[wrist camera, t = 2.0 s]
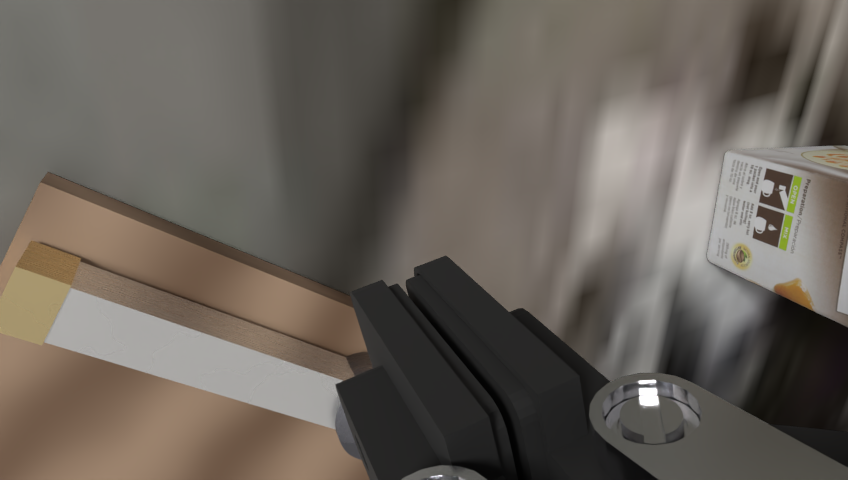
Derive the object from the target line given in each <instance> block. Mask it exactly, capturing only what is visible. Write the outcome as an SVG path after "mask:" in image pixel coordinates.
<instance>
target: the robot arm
mask: <svg viewBox="0 0 848 480" xmlns="http://www.w3.org/2000/svg"><path fill="white" fill-rule="evenodd" d="M414 276H415V277H413V278H410V279H408V280H406V288H407V292H408V295H409V297H408V295H407V294H406V293H405V292H404V291H403V289H402V288H401V287H400V286H399V285H398V284H395V285H392V286H389V287H388V286H387V285H386V284H385V283H384V281H383V280H381V281H378V282H375V283H373V284H370V285H368V286H365V287H362V288H360V289H357V290H354V291H352V292H350V296H351V300H352V304H353V307H354V310H355V313H356V316H357V320H358V323H359V326H360V329H361V332H362V335H363V339H364V342H365V345H366V348H367V351H368V354H369V358H370V361H371V364H372V367H373V369H371V370H369V371H366V372H364V373H361V374H359V375H356V376H354V377H352V378H349V379H347V380H344V381H342V382H340V383H337V384H335V386H336V390H337V393H338V396H339V399H340V402H341V405H342V407H343V410H344V413H345V416H346V419H347V422H348V425H349V427H350V430H351V433H352V436H353V438H354V441H355V444H356V446H357V449H358V451H359V454H360V457H361V459H362V462H363V464H364V467H365V469H366V472H367V474H368V476H369V479H370V480H848V432H843V431H833V430H824V429H814V428H804V427H794V426H784V425H775V424H767V423H765V422H764V421H762V420H760V419H758V418H756V417H754V416H753V415H751V414H749V413H747V412H745V411H743V410H742V409H740V408H738V407H736V406H734V405H732V404H731V403H729V402H727V401H725V400H723V399H721V398H720V397H718V396H716V395H714V394H712V393H710V392H709V391H707V390H705V389H703V388H701V387H699V386H698V385H696V384H694V383H692V382H689V381H687V380H684V379H682V378H680V377H677V376H673V375H667V374H661V373H638V374H633V375H628V376H623V377H621V378H618V379H616V380H614V381H612V382H610V381H609V380H608V379H606V378H605V377H604V376H603V375H602V374H600V373H599V372H598V371H597V370H596V369H595V368H593V367H592V366H591V365H590V364H589V363H588V362H586V361H585V360H584V359H583V358H582V357H581V356H579V355H578V354H577V353H576V352H575V351H574V350H572V349H571V348H570V347H569V346H568V345H567V344H565V343H564V342H563V341H562V340H561V339H560V338H558V337H557V336H556V335H555V334H554V333H553V332H551V331H550V330H549V329H548V328H547V327H545V326H544V325H543V324H542V323H541V322H540V321H538V320H537V319H536V318H535V317H534V316H533V315H531V314H530V313H529V312H528V311H526V310H524V309H523V308H519V309H516V310H514V311H511V312H508V311H507V310H506V309H505V308H504V307H503V306H502V305H501V304H499V303H498V302H497V301H496V300H495V299H494V298H493V297H492V296H491V295H489V294H488V293H487V292H486V291H485V290H484V289H483V288H482V287H481V286H479V285H478V284H477V283H476V282H475V281H474V280H473V279H472V278H471V277H470V276H468V275H467V274H466V273H465V272H464V271H463V270H462V269H461V268H460V267H458V266H457V265H456V264H455V263H454V262H453V261H452V260H451V259H450V258H449V257H447V256H444V257H441V258H438V259H436V260H433V261H431V262H428V263H425V264H423V265H420V266H417V267H415V268H414Z"/></svg>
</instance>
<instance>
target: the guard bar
mask: <svg viewBox="0 0 848 480" xmlns="http://www.w3.org/2000/svg"><path fill="white" fill-rule="evenodd" d="M80 260H81V258H79V257H76V256H74V255H71V254H68V253H65V252H62V251H60V250H57V249H54V248H51V247H49V246H46V245H43V244H40V243H38V242H35V241H32V240H31V242H30V243H29V245H28V247H27V248H26V250H25V252H24V253H23V255H22V257H21V258H20V260H19V261H18V263H17V265H16V266H15V269H14V271H13V273H12V275H11V277H10V279H9V281H8V283H7V285H6V287H5V289H4V292H3V294H2V296H1V298H0V333H1V334H5V335H8V336H12V337H15V338H18V339H22V340H25V341H28V342H32V343H35V344H39V345H42V344H43V342H45V343H48V344H52V345H55V346H58V347H62V348H65V349H68V350H72V351H75V352H78V353H82V354H85V355H88V356H92V357H95V358H98V359H102V360H105V361H108V362H112V363H115V364H118V365H122V366H125V367H128V368H132V369H135V370H138V371H142V372H145V373H148V374H152V375H155V376H158V377H162V378H165V379H168V380H172V381H175V382H178V383H182V384H185V385H188V386H192V387H195V388H198V389H202V390H205V391H208V392H212V393H215V394H219V395H222V396H225V397H229V398H232V399H235V400H239V401H242V402H245V403H249V404H252V405H255V406H259V407H262V408H265V409H269V410H272V411H275V412H279V413H282V414H285V415H289V416H292V417H295V418H299V419H302V420H305V421H309V422H312V423H315V424H319V425H322V426H325V427H329V428H332V429H335V430H336V433H337V435H338V438H339V440H340V443H341V445H342V447H343V448H344V450H345V451H346V452H347V453H348V454H350V455H351V456H353V457H354V458H357V459H360V460H362V459H361V457H360V454H359V451H358V449H357V446H356V444H355V441H354V438H353V436H352V433H351V430H350V427H349V425H348V422H347V419H346V416H345V413H344V410H343V407H342V405H341V402H340V399H339V396H338V393H337V390H336V386H335V384H337V383H340V382H342V381H344V380H347V379H349V378H352V377H354V376H356V375H359V374H361V373H364V372H366V371H369V370H371V369H373V367H372V364H371V361H370V358H369V354H368V352H359V353H354V354H351V355H349V356H346V357H344V356H341V355H339V354H336V353H333V352H330V351H328V350H325V349H322V348H319V347H316V346H314V345H311V344H308V343H305V342H303V341H300V340H297V339H294V338H291V337H289V336H286V335H283V334H280V333H278V332H275V331H272V330H269V329H266V328H264V327H261V326H258V325H255V324H253V323H250V322H247V321H244V320H241V319H239V318H236V317H233V316H230V315H228V314H225V313H222V312H219V311H216V310H214V309H211V308H208V307H205V306H203V305H200V304H197V303H194V302H191V301H189V300H186V299H183V298H180V297H178V296H175V295H172V294H169V293H166V292H164V291H161V290H158V289H155V288H153V287H150V286H147V285H144V284H141V283H139V282H136V281H133V280H130V279H128V278H125V277H122V276H119V275H116V274H114V273H111V272H108V271H105V270H103V269H100V268H97V267H94V266H91V265H89V264H86V263H83V262H80Z"/></svg>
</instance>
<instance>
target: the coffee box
mask: <svg viewBox="0 0 848 480" xmlns="http://www.w3.org/2000/svg"><path fill="white" fill-rule="evenodd" d="M707 259H708V261H709V262H711V263H713V264H715V265H717V266H719V267H721V268H723V269H725V270H727V271H729V272H731V273H734V274H736V275H738V276H740V277H742V278H744V279H746V280H748V281H750V282H753V283H755V284H757V285H759V286H761V287H763V288H765V289H768V290H770V291H772V292H774V293H776V294H778V295H781V296H783V297H785V298H787V299H789V300H791V301H793V302H796V303H798V304H800V305H802V306H804V307H806V308H808V309H810V310H812V311H814V312H816V313H818V314H821V315H823V316H825V317H827V318H829V319H831V320H833V321H836V322H838V323H840V324H842V325H844V326H846V327H848V146H817V147H790V148H765V149H742V150H729V151H727V152H726V153H725V156H724V161H723V167H722V173H721V178H720V184H719V189H718V195H717V201H716V207H715V213H714V218H713V224H712V229H711V235H710V241H709V246H708V251H707Z"/></svg>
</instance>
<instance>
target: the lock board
mask: <svg viewBox="0 0 848 480" xmlns="http://www.w3.org/2000/svg"><path fill="white" fill-rule="evenodd" d="M31 240H32V241H35V242H38V243H40V244H43V245H46V246H49V247H51V248H54V249H57V250H60V251H62V252H65V253H68V254H71V255H74V256H76V257H79V258H81V260H80V262H83V263H86V264H89V265H91V266H94V267H97V268H100V269H103V270H105V271H108V272H111V273H114V274H116V275H119V276H122V277H125V278H128V279H130V280H133V281H136V282H139V283H141V284H144V285H147V286H150V287H153V288H155V289H158V290H161V291H164V292H166V293H169V294H172V295H175V296H178V297H180V298H183V299H186V300H189V301H191V302H194V303H197V304H200V305H203V306H205V307H208V308H211V309H214V310H216V311H219V312H222V313H225V314H228V315H230V316H233V317H236V318H239V319H241V320H244V321H247V322H250V323H253V324H255V325H258V326H261V327H264V328H266V329H269V330H272V331H275V332H278V333H280V334H283V335H286V336H289V337H291V338H294V339H297V340H300V341H303V342H305V343H308V344H311V345H314V346H316V347H319V348H322V349H325V350H328V351H330V352H333V353H336V354H339V355H341V356H344V357H346V356H349V355H351V354H354V353H359V352H368V351H367V348H366V345H365V342H364V339H363V335H362V332H361V329H360V326H359V323H358V320H357V316H356V313H355V310H354V307H353V304H352V300H351V296H349V295H346V294H344V293H342V292H339V291H337V290H334V289H332V288H329V287H327V286H324V285H322V284H320V283H317V282H315V281H312V280H310V279H307V278H305V277H303V276H300V275H298V274H295V273H293V272H290V271H288V270H285V269H283V268H281V267H278V266H276V265H273V264H271V263H268V262H266V261H264V260H261V259H259V258H256V257H254V256H251V255H249V254H246V253H244V252H242V251H239V250H237V249H234V248H232V247H229V246H227V245H225V244H222V243H220V242H217V241H215V240H212V239H210V238H208V237H205V236H203V235H200V234H198V233H195V232H193V231H190V230H188V229H186V228H183V227H181V226H178V225H176V224H173V223H171V222H169V221H166V220H164V219H161V218H159V217H156V216H154V215H151V214H149V213H147V212H144V211H142V210H139V209H137V208H134V207H132V206H130V205H127V204H125V203H122V202H120V201H117V200H115V199H112V198H110V197H108V196H105V195H103V194H100V193H98V192H95V191H93V190H91V189H88V188H86V187H83V186H81V185H78V184H76V183H73V182H71V181H69V180H66V179H64V178H61V177H59V176H56V175H54V174H52V173H49V172H48V173H47V174H46V175H45V177H44V178H43V179H42V181H41V182H40V184H39V186H38V188H37V190H36V192H35V195H34V197H33V199H32V201H31V203H30V205H29V207H28V209H27V211H26V213H25V216H24V218H23V220H22V222H21V224H20V226H19V228H18V230H17V232H16V235H15V237H14V239H13V241H12V243H11V245H10V247H9V249H8V251H7V254H6V256H5V258H4V260H3V262H2V264H1V266H0V298H1V296H2V294H3V292H4V289H5V287H6V285H7V283H8V281H9V279H10V277H11V275H12V273H13V271H14V269H15V266H16V265H17V263H18V261H19V260H20V258H21V257H22V255H23V253H24V252H25V250H26V248H27V247H28V245H29V243H30V242H31ZM0 480H370V479H369V476H368V474H367V472H366V469H365V467H364V464H363V462H362V460H360V459H357V458H354V457H353V456H351V455H350V454H348V453H347V452H346V451H345V450H344V448H343V447H342V445H341V443H340V440H339V438H338V435H337V433H336V430H335V429H332V428H329V427H325V426H322V425H319V424H315V423H312V422H309V421H305V420H302V419H299V418H295V417H292V416H289V415H285V414H282V413H279V412H275V411H272V410H269V409H265V408H262V407H259V406H255V405H252V404H249V403H245V402H242V401H239V400H235V399H232V398H229V397H225V396H222V395H219V394H215V393H212V392H208V391H205V390H202V389H198V388H195V387H192V386H188V385H185V384H182V383H178V382H175V381H172V380H168V379H165V378H162V377H158V376H155V375H152V374H148V373H145V372H142V371H138V370H135V369H132V368H128V367H125V366H122V365H118V364H115V363H112V362H108V361H105V360H102V359H98V358H95V357H92V356H88V355H85V354H82V353H78V352H75V351H72V350H68V349H65V348H62V347H58V346H55V345H52V344H48V343H45V342H43V344H42V345H39V344H35V343H32V342H28V341H25V340H22V339H18V338H15V337H12V336H8V335H5V334H1V333H0Z"/></svg>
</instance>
